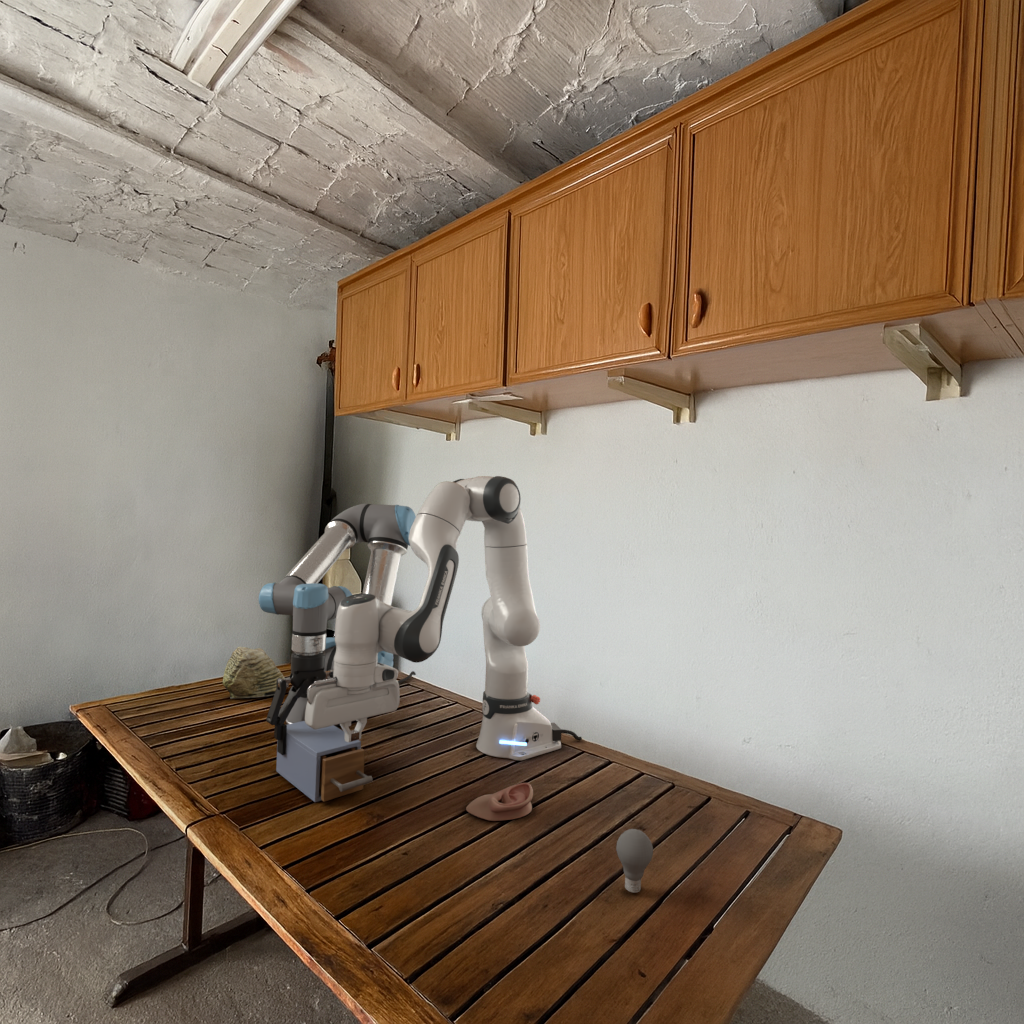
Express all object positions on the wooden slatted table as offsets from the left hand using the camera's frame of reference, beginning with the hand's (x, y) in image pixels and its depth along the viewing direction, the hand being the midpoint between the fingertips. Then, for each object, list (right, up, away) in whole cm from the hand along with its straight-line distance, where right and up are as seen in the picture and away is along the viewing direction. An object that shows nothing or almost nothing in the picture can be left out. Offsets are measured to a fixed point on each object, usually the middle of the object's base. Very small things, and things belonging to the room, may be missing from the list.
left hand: (304, 747), depth 146 cm
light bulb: (+68, -9, -40) cm, 80 cm away
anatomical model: (+45, -8, -14) cm, 48 cm away
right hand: (+15, +7, -15) cm, 22 cm away
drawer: (+8, -5, -9) cm, 13 cm away
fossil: (-33, -3, +52) cm, 62 cm away
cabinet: (+4, -6, -4) cm, 8 cm away
